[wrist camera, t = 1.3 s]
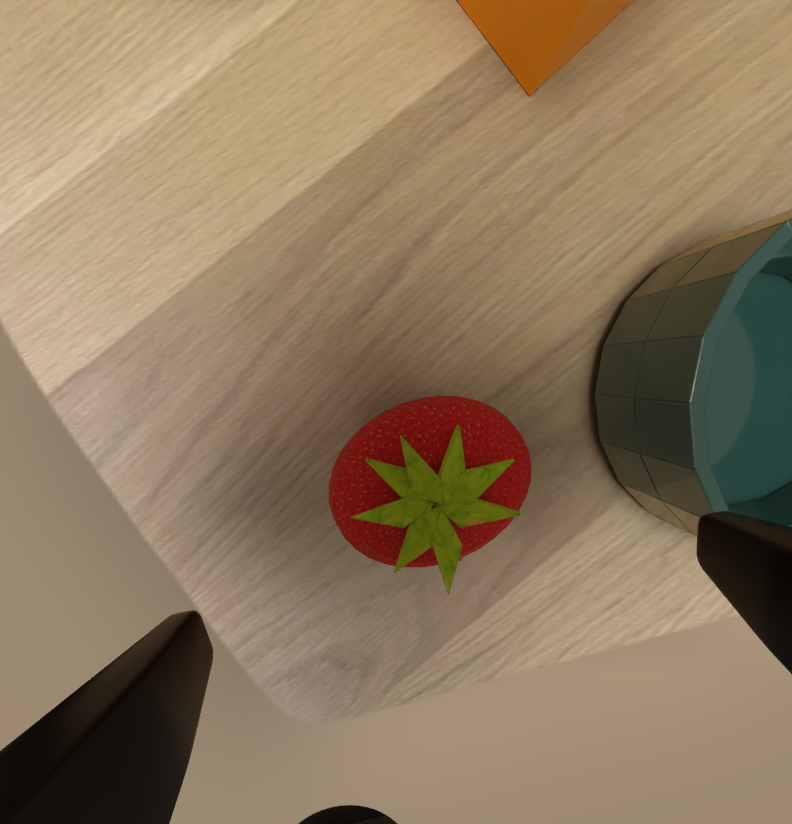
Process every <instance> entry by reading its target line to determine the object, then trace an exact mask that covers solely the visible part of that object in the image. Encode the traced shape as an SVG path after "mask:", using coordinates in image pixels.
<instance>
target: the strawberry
mask: <svg viewBox="0 0 792 824" xmlns="http://www.w3.org/2000/svg"><path fill="white" fill-rule="evenodd" d="M530 481H531V461H530V456H529V451H528V449H527V446H526V444H525V442H524V440H523V438H522V436H521V435H520V434H519V432H518V431H517V429H516V428H515V427H514V426H513V425H512V423H511V422H510V421H509V420H508V419H507V418H506V417H505V416H504V415H503V414H501V413H500V412H499V411H497V410H496V409H494V408H493V407H491V406H489V405H486V404H484V403H482V402H479V401H477V400H473V399H468V398H463V397H456V396H436V397H428V398H420V399H417V400H414V401H410V402H407V403H403V404H400V405H398V406H396V407H394V408H392V409H390V410H387V411H385V412H383V413H382V414H380V415H379V416H377V417H376V418H374V419H373V420H371V421H370V422H368V423H367V424H365V425H364V426H363V427H362V428H361V429H360V430H359V431H358V432H357V433H356V434H355V435H354V436H353V437H352V438H351V439H350V440H349V442H348V443H347V444H346V446H345V447H344V448H343V450H342V451H341V452H340V454H339V457H338V459H337V461H336V463H335V465H334V467H333V470H332V474H331V478H330V482H329V503H330V507H331V511H332V514H333V517H334V519H335V521H336V523H337V525H338V527H339V529H340V530H341V532H342V534H343V536H344V537H345V539H346V540H347V541H348V542H349V543H350V544H351V545H352V546H353V547H354V548H355V549H356V550H358V551H359V552H361V553H362V554H364V555H365V556H367V557H369V558H371V559H373V560H376V561H379V562H381V563H384V564H388V565H394V566H396V567H395V570H394V573H395V572H397V571H398V570H400V569H401V568H402V567H427V566H433V565H439V567H440V570H441V573H442V576H443V579H444V583H445V586H446V589H447V592H448V594H449V591H450V587H451V584H452V580H453V577H454V574H455V570H456V567H457V563H458V561H461V559H462V557H464V556H466V555H468V554H470V553H472V552H474V551H476V550H478V549H479V548H481V547H482V546H484V545H485V544H487V543H488V542H490V541H491V540H493V539H494V538H495V537H496V536H497V535H498V534H499V533H500V532H502V531H503V530H504V529H505V528H506V527H507V526H508V525H509V523H510V522H511V521H512V519H513V518H514V517H515V516H518V515H520V513H519V509H520V508H521V506H522V504H523V502H524V500H525V498H526V495H527V492H528V488H529V485H530Z"/></svg>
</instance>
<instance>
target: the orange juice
mask: <svg viewBox="0 0 792 824" xmlns="http://www.w3.org/2000/svg"><path fill="white" fill-rule="evenodd" d="M457 1H458V2H459V3H460V5H461V6H462V7H463V9H464V10H465V11H466V13H467V14H468V15H469V17H470V18H471V19H472V21H473V22H474V23H475V25H476V26H477V27H478V29H479V30H480V31H481V32H482V34H483V35H484V36H485V38H486V39H487V40H488V42H489V43H490V44H491V46H492V47H493V48H494V50H495V51H496V52H497V54H498V55H499V56H500V58H501V59H502V60H503V62H504V63H505V64H506V66H507V67H508V68H509V70H510V71H511V72H512V74H513V75H514V76H515V77H516V79H517V80H518V81H519V83H520V84H521V85H522V87H523V88H524V89H525V91H526V92H527V93H528V95H529V96H531V95H532V94H533V93H534V92H535V91H536V90H537V89H538V88H539V87H540V86H541V85H542V84H543V83H545V82H546V81H547V80H548V79H549V78H550V77H551V76H552V75H553V74H554V73H555V72H556V71H557V70H559V69H560V68H561V67H562V66H563V65H564V64H565V63H566V62H567V61H568V60H569V59H570V58H572V57H573V56H574V55H575V54H576V53H577V52H578V51H579V50H580V49H581V48H582V47H583V46H584V45H586V44H587V43H588V42H589V41H590V40H591V39H592V38H593V37H594V36H595V35H596V34H597V33H598V32H600V31H601V30H602V29H603V28H604V27H605V26H606V25H607V24H608V23H609V22H610V21H611V20H613V19H614V18H615V17H616V16H617V15H618V14H619V13H620V12H621V11H622V10H623V9H624V8H625V7H627V6H628V5H629V4H630V3H631V2H632V1H633V0H457Z"/></svg>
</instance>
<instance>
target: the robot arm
mask: <svg viewBox="0 0 792 824" xmlns="http://www.w3.org/2000/svg"><path fill="white" fill-rule="evenodd" d="M697 558H698V561H699V564H700V565H701V567H702V569H703V570H704V571H705V573H706V574H707V575H708V576H709V578H710V579H711V580H712V581H713V582H714V584H715V585H716V586H717V587H718V589H719V590H720V591H721V592H722V593H723V595H724V596H725V597H726V598H727V599H728V601H729V602H730V603H731V604H732V606H733V607H734V608H735V609H736V610H737V612H738V613H739V614H740V615H741V617H742V618H743V619H744V620H745V621H746V622H747V624H748V625H749V626H750V628H751V629H752V630H753V631H754V632H755V634H756V635H757V636H758V637H759V638H760V639H761V640H762V642H763V643H764V644H765V645H766V647H767V648H768V649H769V650H770V651H771V652H772V653H773V654H774V656H775V657H776V658H777V659H778V660H779V661H780V662H781V663H782V664H783V665H784V666H785V667H786V668H787V669H788V671H789V672H790V673H791V674H792V527H789V526H785V525H781V524H777V523H773V522H769V521H765V520H761V519H757V518H753V517H749V516H745V515H741V514H737V513H733V512H729V511H720V512H714V513H709V514H704V515H703V516H701V517H700V519H699V521H698V533H697ZM212 661H213V649H212V644H211V642H210V639H209V637H208V634H207V631H206V628H205V625H204V623H203V620H202V617H201V615H200V614H199V613H198V612H197V611H194V610H192V611H186V612H181V613H176V614H173V615H171V616H169V617H168V618H167V619H165V620H164V621H163V622H161V623H160V624H159V625H158V626H156V627H155V628H154V629H153V630H151V631H150V632H149V633H148V634H147V635H145V636H144V637H143V638H141V639H140V640H139V641H138V642H136V643H135V644H134V645H133V646H131V647H130V648H129V649H128V650H126V651H125V652H124V653H123V654H122V655H120V656H119V657H118V658H116V659H115V660H114V661H113V662H111V663H110V664H109V665H108V666H106V667H105V668H104V669H103V670H101V671H100V672H99V673H98V674H96V675H95V676H94V677H92V678H91V679H90V680H89V681H87V682H86V683H85V684H84V685H82V686H81V687H80V688H79V689H77V691H75V692H74V693H73V694H71V695H70V696H69V697H67V698H66V699H65V700H64V701H62V702H61V703H60V704H59V705H57V706H56V707H55V708H54V709H52V710H51V711H50V712H49V713H47V714H46V715H45V716H44V717H42V718H41V719H40V720H39V721H38V722H36V723H35V724H34V725H33V726H31V727H30V728H29V729H27V730H26V731H25V732H24V733H22V734H21V735H20V736H19V737H17V738H16V739H15V740H14V741H12V742H11V743H10V744H8V745H7V746H6V747H5V748H3V749H2V750H1V751H0V824H169V823H170V819H171V816H172V813H173V810H174V807H175V804H176V801H177V798H178V795H179V792H180V788H181V785H182V783H183V779H184V776H185V773H186V769H187V766H188V763H189V759H190V755H191V751H192V747H193V743H194V739H195V735H196V731H197V726H198V722H199V718H200V713H201V709H202V705H203V700H204V696H205V692H206V687H207V683H208V679H209V675H210V670H211V666H212Z"/></svg>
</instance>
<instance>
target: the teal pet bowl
mask: <svg viewBox="0 0 792 824" xmlns="http://www.w3.org/2000/svg"><path fill="white" fill-rule="evenodd" d="M595 402H596V411H597V419H598V428H599V437H600V441H601V444H602V446H603V448H604V450H605V452H606V455H607V457H608V459H609V461H610V463H611V465H612V468H613V470H614V472H615V474H616V476H617V478H618V480H619V481H620V483H621V484H622V485H623V486H624V488H625V489H626V490H627V491H628V492H629V493H630V494H631V495H632V496H633V497H634V498H635V499H636V500H637V501H638V502H639V503H640V504H641V505H642V506H643V507H644V508H645V509H646V510H647V511H648V512H649V513H650V514H652V515H654V516H656V517H658V518H660V519H662V520H664V521H666V522H668V523H671V524H673V525H675V526H677V527H679V528H681V529H683V530H685V531H687V532H689V533H691V534H693V535H695V536H697V533H698V521H699V519H700V517H701V516H703V515H704V514H709V513H714V512H720V511H729V512H733V513H737V514H741V515H745V516H749V517H753V518H757V519H761V520H765V521H769V522H773V523H777V524H781V525H785V526H789V527H792V209H791V210H788V211H785V212H783V213H780V214H777V215H775V216H772V217H769V218H767V219H764V220H761V221H759V222H756V223H753V224H751V225H748V226H745V227H743V228H740V229H737V230H735V231H732V232H729V233H727V234H724V235H721V236H718V237H716V238H713V239H710V240H708V241H705V242H703V243H701V244H699V245H697V246H695V247H693V248H691V249H690V250H688V251H686V252H684V253H682V254H680V255H678V256H677V257H675V258H673V259H671V260H669V261H667V262H665V263H664V264H662V265H661V266H660V267H659V268H658V269H657V270H656V271H655V272H654V273H653V274H652V275H651V276H650V277H649V278H648V279H647V280H646V281H645V282H644V283H643V284H642V285H641V286H640V287H639V288H638V290H637V291H636V292H635V293H634V294H633V295H632V296H631V297H630V298H629V299H628V300H627V301H626V303H625V305H624V307H623V309H622V311H621V313H620V314H619V316H618V318H617V320H616V322H615V324H614V326H613V328H612V330H611V332H610V334H609V336H608V338H607V340H606V342H605V344H604V347H603V351H602V357H601V362H600V368H599V373H598V378H597V384H596V389H595Z"/></svg>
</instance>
